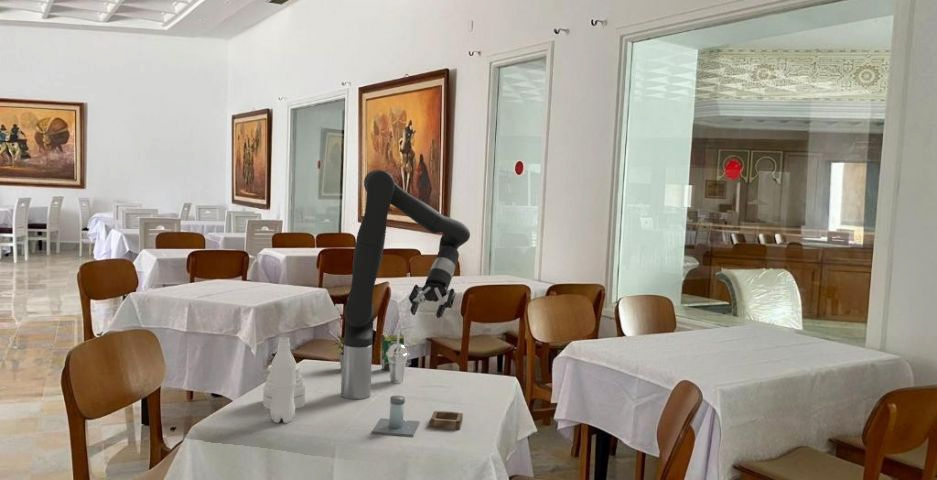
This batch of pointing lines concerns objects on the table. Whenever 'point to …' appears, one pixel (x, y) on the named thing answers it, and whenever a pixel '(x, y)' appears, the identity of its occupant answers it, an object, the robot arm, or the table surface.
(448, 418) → the walnut collar
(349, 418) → the table surface
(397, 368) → the cup with straw
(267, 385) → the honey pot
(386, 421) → the slate pad
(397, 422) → the grey-capped cylinder canister
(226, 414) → the table surface
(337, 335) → the house plant
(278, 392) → the water bottle
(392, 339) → the coffee box
